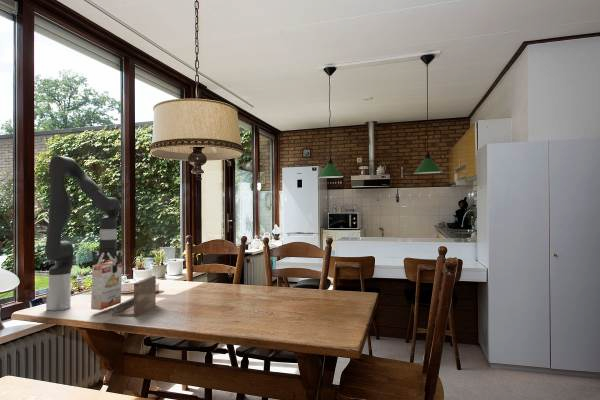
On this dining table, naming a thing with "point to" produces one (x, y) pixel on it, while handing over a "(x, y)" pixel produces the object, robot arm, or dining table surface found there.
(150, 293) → the grey l-shaped bracket
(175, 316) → the dining table surface
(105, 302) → the cracker box
